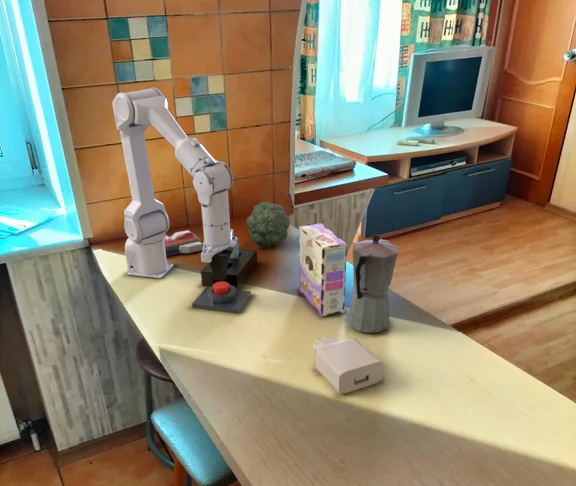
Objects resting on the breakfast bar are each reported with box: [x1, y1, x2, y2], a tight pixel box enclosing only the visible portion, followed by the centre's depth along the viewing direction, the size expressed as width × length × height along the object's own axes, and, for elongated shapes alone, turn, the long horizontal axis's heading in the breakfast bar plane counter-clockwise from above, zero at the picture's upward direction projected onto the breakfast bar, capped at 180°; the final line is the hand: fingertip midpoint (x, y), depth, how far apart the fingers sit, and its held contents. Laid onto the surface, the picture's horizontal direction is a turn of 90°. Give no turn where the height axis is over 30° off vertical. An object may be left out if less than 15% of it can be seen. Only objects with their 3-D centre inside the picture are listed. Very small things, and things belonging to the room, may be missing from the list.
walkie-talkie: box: [164, 229, 203, 257], centre depth 162 cm, size 9×4×20 cm
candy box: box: [298, 223, 348, 317], centre depth 131 cm, size 14×6×16 cm, turn 20°
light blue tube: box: [230, 235, 239, 259], centre depth 148 cm, size 2×2×9 cm
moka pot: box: [346, 234, 398, 334], centre depth 121 cm, size 10×15×20 cm, turn 155°
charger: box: [313, 335, 384, 394], centre depth 111 cm, size 5×9×15 cm
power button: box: [213, 282, 229, 295], centre depth 134 cm, size 4×4×2 cm
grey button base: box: [191, 285, 252, 314], centre depth 135 cm, size 11×9×3 cm
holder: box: [200, 247, 258, 290], centre depth 147 cm, size 9×15×4 cm, turn 165°
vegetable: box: [245, 201, 290, 249], centre depth 164 cm, size 12×13×15 cm
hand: (220, 278), depth 133 cm, fingers closed
